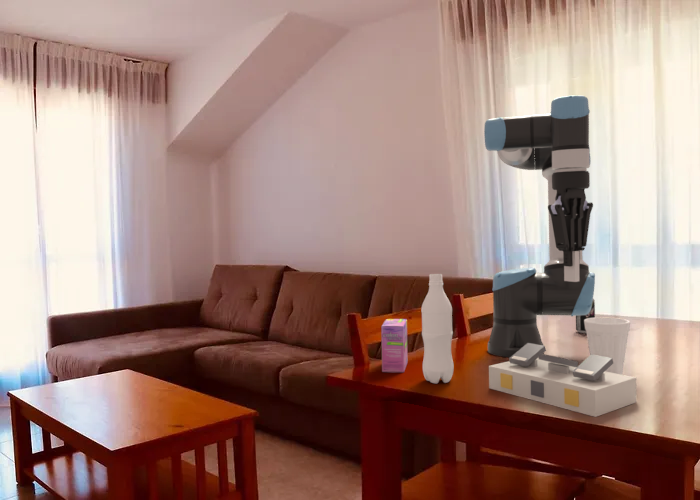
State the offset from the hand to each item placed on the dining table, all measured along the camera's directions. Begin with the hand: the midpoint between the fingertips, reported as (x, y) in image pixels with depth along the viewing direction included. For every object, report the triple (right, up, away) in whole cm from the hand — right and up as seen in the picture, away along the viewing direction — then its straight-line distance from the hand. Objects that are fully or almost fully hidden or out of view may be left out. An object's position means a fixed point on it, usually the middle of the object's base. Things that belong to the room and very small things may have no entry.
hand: (571, 280), depth 131 cm
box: (-36, -24, +26) cm, 50 cm away
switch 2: (-4, -17, -3) cm, 17 cm away
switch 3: (+1, -17, -10) cm, 19 cm away
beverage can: (+28, -20, +65) cm, 74 cm away
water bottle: (-27, -24, +11) cm, 38 cm away
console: (-4, -24, -3) cm, 24 cm away
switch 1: (-9, -16, +4) cm, 19 cm away
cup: (+12, -23, +11) cm, 28 cm away
